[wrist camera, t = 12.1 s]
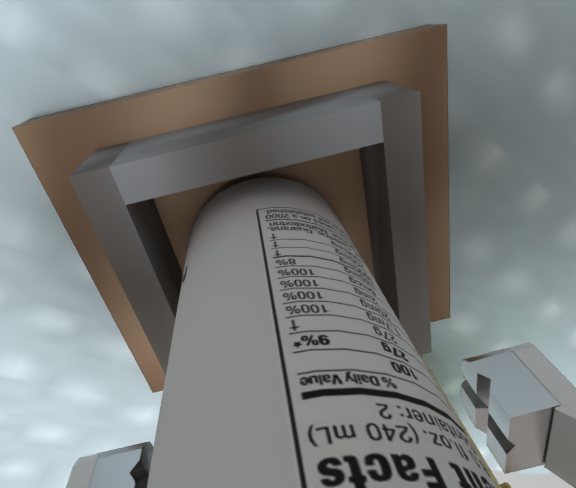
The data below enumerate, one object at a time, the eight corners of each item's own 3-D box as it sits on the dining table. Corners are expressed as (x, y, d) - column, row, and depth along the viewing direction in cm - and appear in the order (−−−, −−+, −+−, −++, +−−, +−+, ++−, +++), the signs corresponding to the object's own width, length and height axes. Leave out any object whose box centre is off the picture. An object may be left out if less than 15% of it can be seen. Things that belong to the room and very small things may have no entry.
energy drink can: (157, 228, 16) (-161, 1179, 3) (284, 136, 15) (719, 941, 2) (249, 322, 19) (308, 1024, 6) (362, 250, 18) (759, 898, 5)
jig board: (427, 24, 15) (498, 24, 11) (436, 299, 21) (483, 360, 18) (30, 118, 15) (-39, 152, 11) (157, 370, 21) (142, 448, 17)
